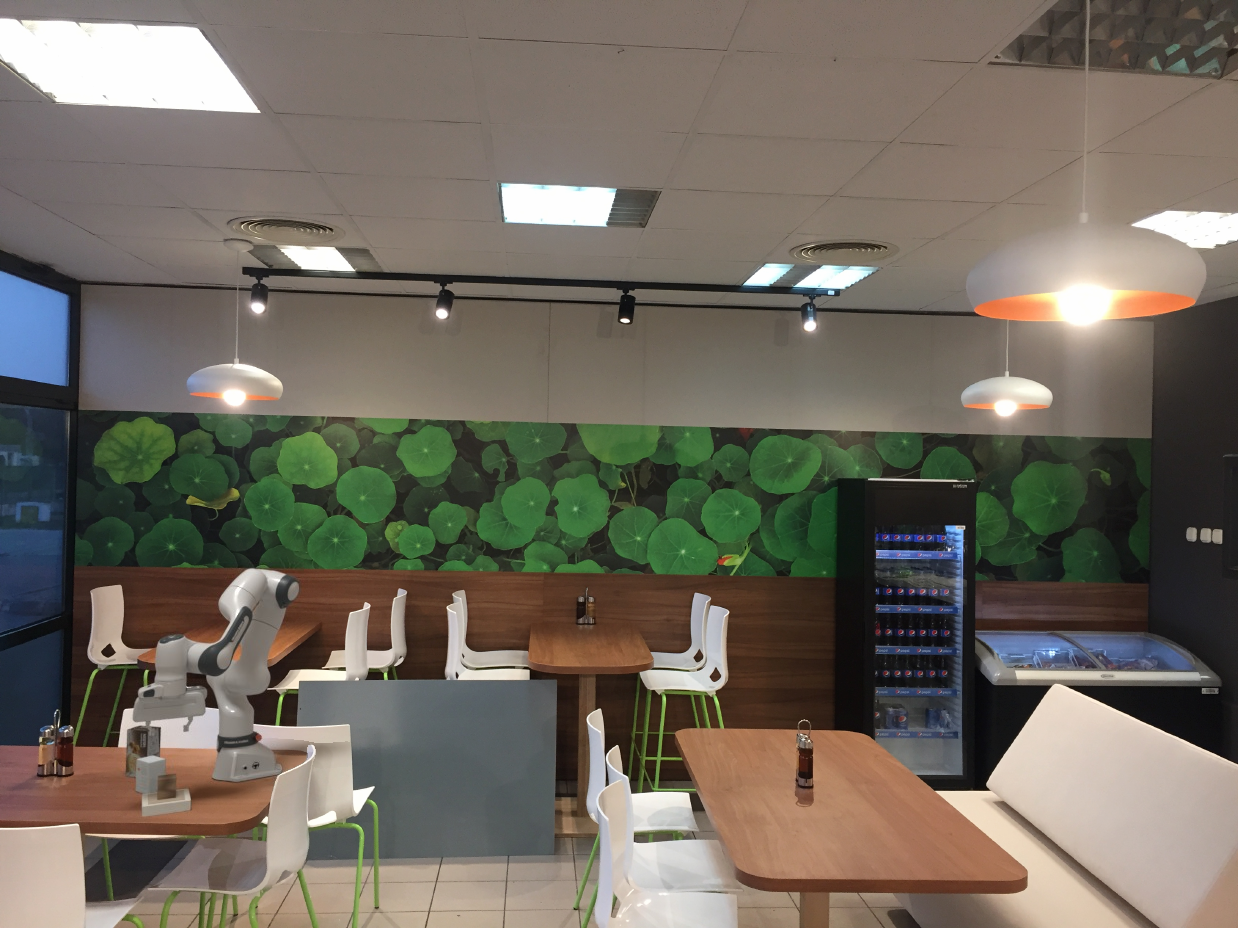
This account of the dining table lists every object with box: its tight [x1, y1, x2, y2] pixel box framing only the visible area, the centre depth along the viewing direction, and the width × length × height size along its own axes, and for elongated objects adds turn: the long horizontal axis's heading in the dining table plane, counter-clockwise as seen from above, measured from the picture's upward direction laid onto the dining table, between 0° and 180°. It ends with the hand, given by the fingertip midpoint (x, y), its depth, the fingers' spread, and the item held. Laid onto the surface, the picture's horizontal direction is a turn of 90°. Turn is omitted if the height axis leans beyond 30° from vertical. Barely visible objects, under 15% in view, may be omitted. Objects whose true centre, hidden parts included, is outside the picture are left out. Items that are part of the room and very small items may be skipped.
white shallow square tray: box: [141, 788, 192, 818], centre depth 269 cm, size 13×13×3 cm
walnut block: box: [157, 773, 178, 800], centre depth 269 cm, size 5×5×6 cm
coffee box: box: [125, 724, 162, 778], centre depth 301 cm, size 9×6×16 cm
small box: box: [135, 756, 167, 795], centre depth 283 cm, size 8×6×10 cm
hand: (169, 733), depth 270 cm, fingers open, 8 cm apart
